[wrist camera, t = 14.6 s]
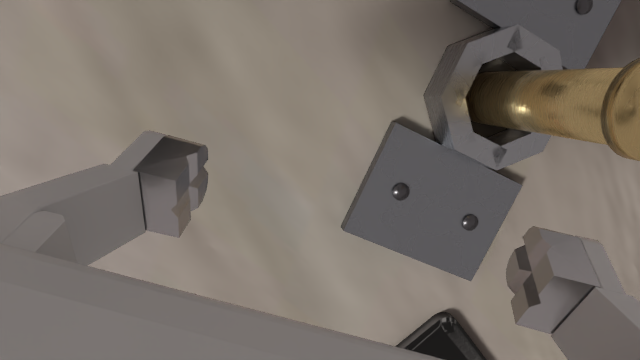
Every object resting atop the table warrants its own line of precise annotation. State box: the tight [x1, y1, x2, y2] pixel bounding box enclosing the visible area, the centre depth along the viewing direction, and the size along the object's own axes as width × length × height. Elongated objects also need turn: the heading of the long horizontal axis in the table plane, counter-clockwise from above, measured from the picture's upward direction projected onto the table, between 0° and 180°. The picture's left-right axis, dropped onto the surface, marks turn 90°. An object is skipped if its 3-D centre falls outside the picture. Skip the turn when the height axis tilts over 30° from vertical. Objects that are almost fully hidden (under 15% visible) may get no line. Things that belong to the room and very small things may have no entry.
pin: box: [465, 58, 640, 161], centre depth 24 cm, size 4×4×13 cm
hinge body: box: [341, 0, 621, 281], centre depth 29 cm, size 24×11×2 cm, turn 154°
